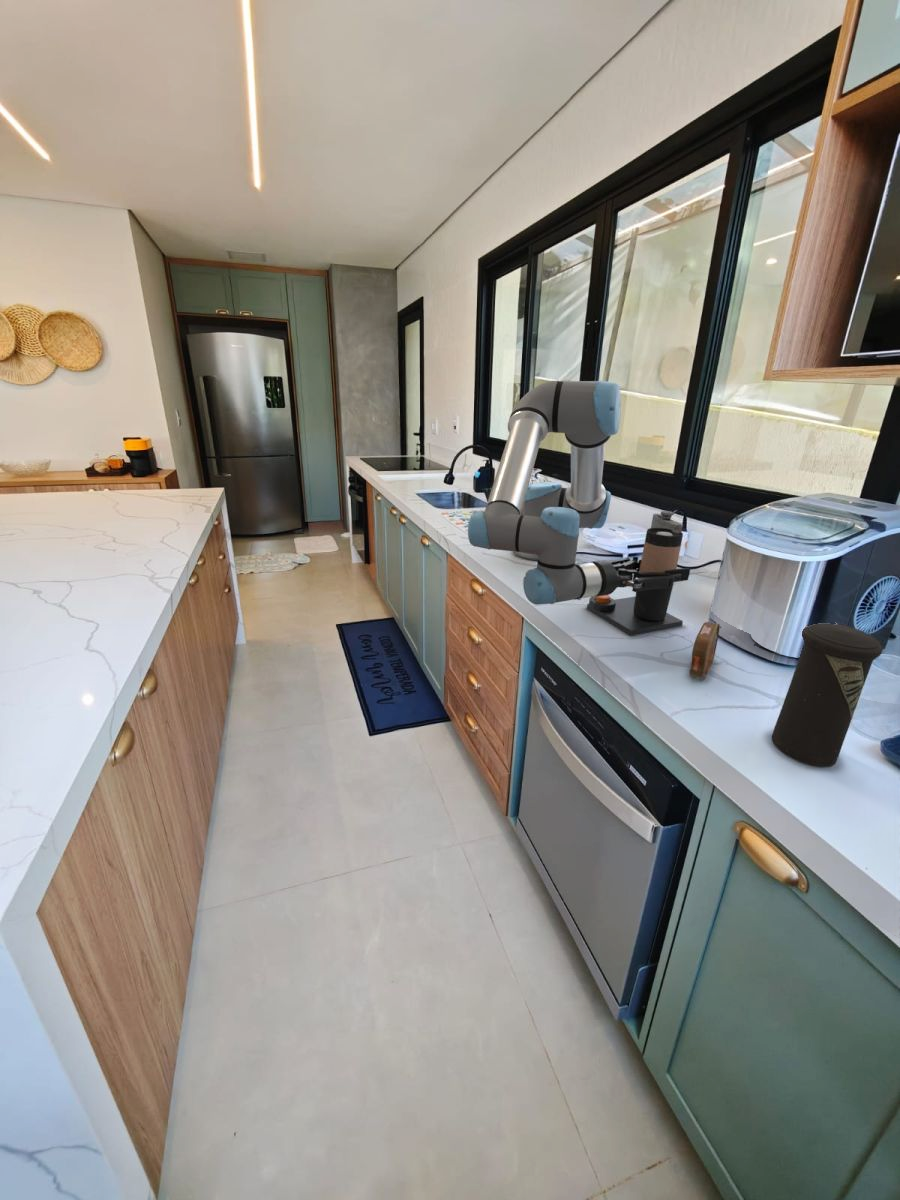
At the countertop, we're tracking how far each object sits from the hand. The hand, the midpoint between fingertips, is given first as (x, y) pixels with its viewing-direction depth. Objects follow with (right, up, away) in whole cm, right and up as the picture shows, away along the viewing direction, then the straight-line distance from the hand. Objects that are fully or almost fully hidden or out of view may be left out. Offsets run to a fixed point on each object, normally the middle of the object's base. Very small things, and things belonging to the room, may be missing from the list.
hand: (673, 568), depth 116 cm
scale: (-8, -12, +5) cm, 15 cm away
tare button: (-14, -8, +7) cm, 18 cm away
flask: (+12, +2, +39) cm, 41 cm away
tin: (-2, -21, -17) cm, 27 cm away
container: (+2, -30, -39) cm, 49 cm away
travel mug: (-5, -11, +3) cm, 12 cm away
